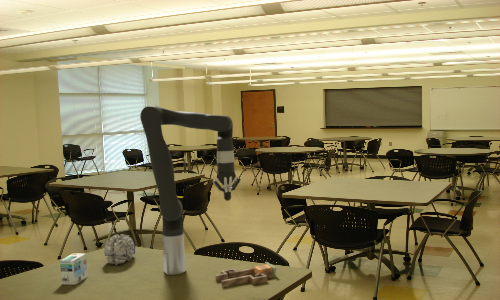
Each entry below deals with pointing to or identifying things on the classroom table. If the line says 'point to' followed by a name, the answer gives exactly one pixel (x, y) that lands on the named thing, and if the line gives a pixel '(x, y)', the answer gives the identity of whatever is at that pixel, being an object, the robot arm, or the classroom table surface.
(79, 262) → the light bulb box
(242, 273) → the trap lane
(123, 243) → the educational model
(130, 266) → the classroom table surface
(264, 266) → the block
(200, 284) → the classroom table surface
